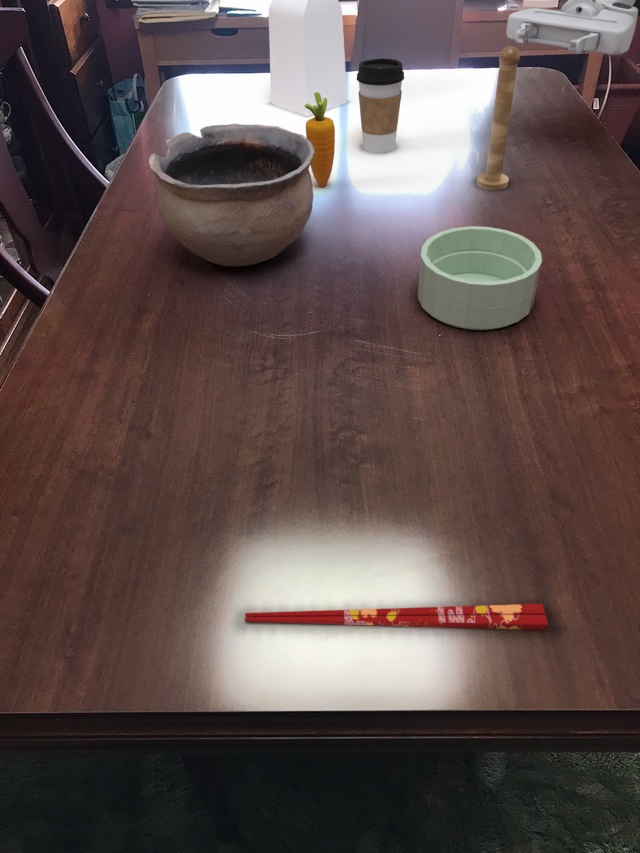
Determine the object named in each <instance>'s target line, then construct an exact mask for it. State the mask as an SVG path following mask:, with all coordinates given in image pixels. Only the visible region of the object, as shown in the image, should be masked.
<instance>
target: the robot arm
mask: <svg viewBox="0 0 640 853" xmlns="http://www.w3.org/2000/svg"><path fill="white" fill-rule="evenodd" d="M639 17H640V0H567V1H566V2H565V3H564V4H563V5H562V7H561V8H560V9H559V10H555V9H547V8H541V7H540V8H539V7H533V8H526V9H525V8H524V9H521V10H517V11H515V12H512V13H510V14H509V16H508V18H507V23H506V30H505V31H506V32H505V34H506V37H507V38H508V39H509V40H510V39H511V40H514V42H515V43H518V44H525V43H534V44H541V45H546V46H553V47H559V48H563V49H564V50H565V51H567V52H569V53H571V54H574V55H575V54H576V55H581V54H586V53H596V54H602V55H607V56H621V55H622V54H625V53H626V52H628V51H629V49H630V47H631V44H632V40H633V37H634V35H635V30H636V27H637V21H638V18H639Z"/></svg>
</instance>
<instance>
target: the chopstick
mask: <svg viewBox="0 0 640 853" xmlns="http://www.w3.org/2000/svg"><path fill="white" fill-rule="evenodd" d="M244 617H245V618H244V621H245V622H249V623H250V622H251V623H252V622H253V623H280V624H281V623H284V624H285V623H286V624H315V625H320V624H321V625H346V626H347V625H353V626H388V627H418V628H419V627H421V628H454V629H485V630H486V629H488V630H489V629H490V630H493V629H494V630H523V631H524V630H525V631H546V630H547V628H548V625H549V622H548V618H547V615H546V611H545V607H544V604H543V603H523V604H522V603H519V604H517V603H515V604H489V605H487V604H486V605H458V606H457V605H456V606H455V605H454V606H453V605H451V606H425V607H420V606H419V607H392V608H390V607H389V608H361V609H360V608H358V609H328V610H326V609H325V610H296V611H263V612H262V611H261V612H246V613H245V614H244Z"/></svg>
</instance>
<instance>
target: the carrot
mask: <svg viewBox="0 0 640 853" xmlns="http://www.w3.org/2000/svg"><path fill="white" fill-rule="evenodd" d="M314 95H315V99H316V102H317V105H318V107H317V106H316V105H314V106H312V105H310V104H305V108H307V109H309V110H310V111H311V112H312V113H313V117H312V118H309V119H308V120H307V121H306V122H305V138H306V139H307V140H308V141H310V142H311V143H312V146H313V148H314V151H315V152H314V156H313V159H312V162H311V164H310V169H311V172H312V175H313V178H314V180H315V182H316V184H317V186H318V187H320V188H325V187H326V186H327V184H328V182H329V180H330V177H331V174H332V170H333V165H334V160H335V147H336V145H335V144H336V129H335V123H334V120H333V119H332V118H330V117H328V116H325V114H326V111H327V110H326V106H327V99H326V98H324V99H323V103H322V100H321V96H320V93H319V92H316V93H315V94H314Z"/></svg>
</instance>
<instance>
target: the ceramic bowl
mask: <svg viewBox="0 0 640 853" xmlns="http://www.w3.org/2000/svg"><path fill="white" fill-rule="evenodd" d="M199 133H200V136H198V135H195V134H193V133H192V132H181V133H178V134H177V135H175V136H174V137H171V138H168V139H166V140H165V145H166V155H165V157H163V156H160V155H158V154H157V153H156V152H153V153H151V154H150V156H149V159H148V165H149V166H150V169H151V171H152V172H153V174H154V175H155V177H156V180H157V181H158V182H157V200H158V201H157V202H158V208H159V211H160V215H161V217H162V219H163V222H164V224H165V226H166V227H167V228H168V230H169V231H170V232H171V233H172V235H173V236H174V238H175V239H176V240H177V241H178V242H179V243H180V244H181V245H182V246H184V247H185V248H186V249H187V250H189V252H191V253H193V254H194V255H196V256H198V257H199V258H200V259H201V258H202V259H203V260H204V261H206V262H209V263H212V264H214V265H218V266H222V267H246V266H252V265H256V264H257V265H258V264H259V263H262V262H266V261H268V260H270V259H272V258H274V257H276V256H278V255H279V254H281V253H282V252H283V251H284V250H286V249H287V247H289V246H290V245H291V244H292V243H293V242H294V241H296V240H297V239H298V238H299V236H300V235H301V234H302V232H303V231H304V229H305V227H306V225H307V223H308V221H309V220H310V217H311V214H312V211H313V205H314V204H313V203H314V187H313V180H312V175H311V173H310V172H311V171H310V168H311V165H310V164H311V162H312V159H313V156H314V152H315V151H314V148H313V146H312V143H311V142H310V141H308V140H307V139H306V136H304V135H303V134H301V133H296V132H292V131H290V130H288V129H286V128H282V127H280V126H277V125H266V124H265V125H264V124H239V123H229V124H215V125H207V126H204V127H201V128H200V130H199Z"/></svg>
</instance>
